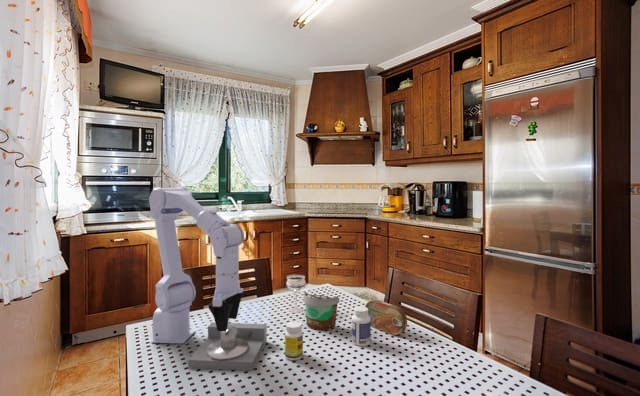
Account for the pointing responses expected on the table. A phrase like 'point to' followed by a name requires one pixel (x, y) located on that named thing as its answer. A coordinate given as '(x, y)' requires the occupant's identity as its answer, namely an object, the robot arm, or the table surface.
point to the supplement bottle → (294, 341)
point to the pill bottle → (361, 326)
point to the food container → (320, 311)
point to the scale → (256, 343)
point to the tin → (386, 317)
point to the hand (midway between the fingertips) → (227, 324)
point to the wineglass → (295, 288)
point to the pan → (219, 354)
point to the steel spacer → (229, 338)
